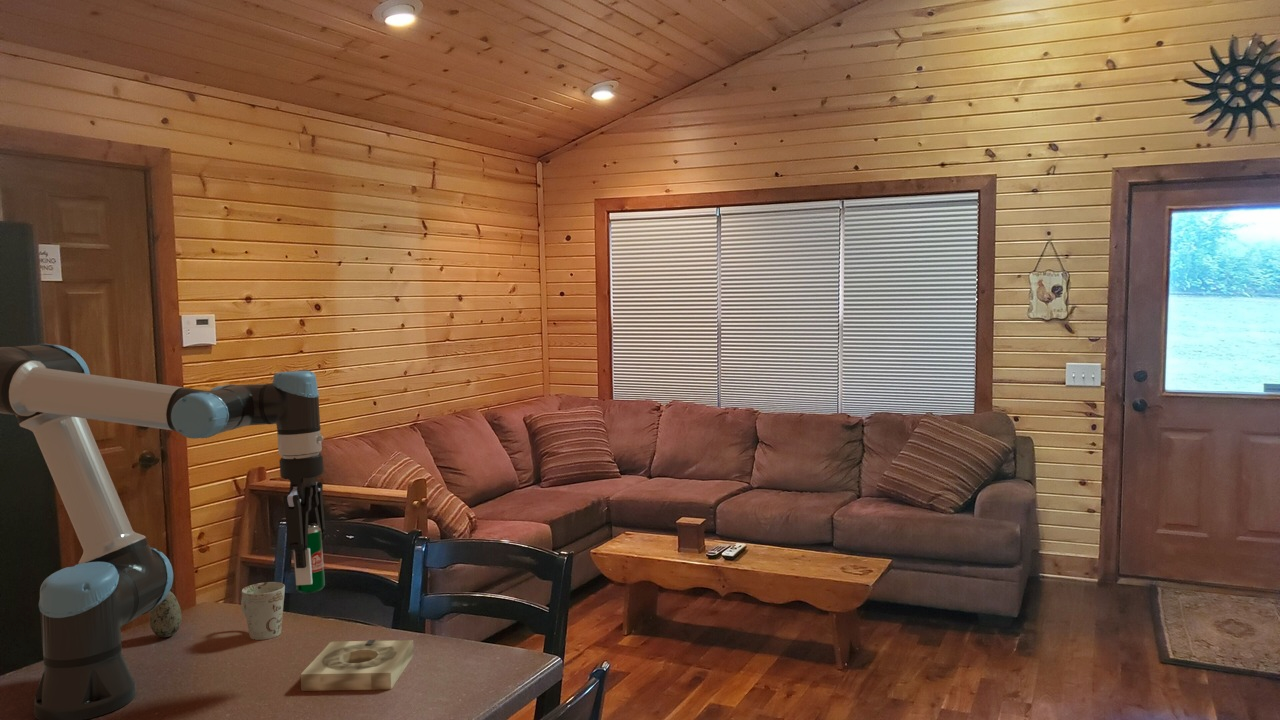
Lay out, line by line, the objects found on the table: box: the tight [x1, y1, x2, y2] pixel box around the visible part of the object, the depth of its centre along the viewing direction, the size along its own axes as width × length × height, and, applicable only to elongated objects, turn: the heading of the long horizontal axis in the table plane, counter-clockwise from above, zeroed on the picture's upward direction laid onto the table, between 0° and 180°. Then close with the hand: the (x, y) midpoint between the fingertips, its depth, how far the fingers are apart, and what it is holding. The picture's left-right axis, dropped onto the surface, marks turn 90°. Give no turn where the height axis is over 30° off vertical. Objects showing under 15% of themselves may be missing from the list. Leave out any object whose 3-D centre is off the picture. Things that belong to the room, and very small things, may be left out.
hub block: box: [300, 639, 415, 692], centre depth 173 cm, size 16×16×3 cm
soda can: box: [292, 523, 326, 594], centre depth 172 cm, size 5×5×12 cm
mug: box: [240, 581, 286, 641], centre depth 195 cm, size 8×13×10 cm, turn 57°
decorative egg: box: [149, 590, 183, 638], centre depth 194 cm, size 6×6×10 cm
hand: (310, 579), depth 172 cm, fingers closed on soda can, 5 cm apart
